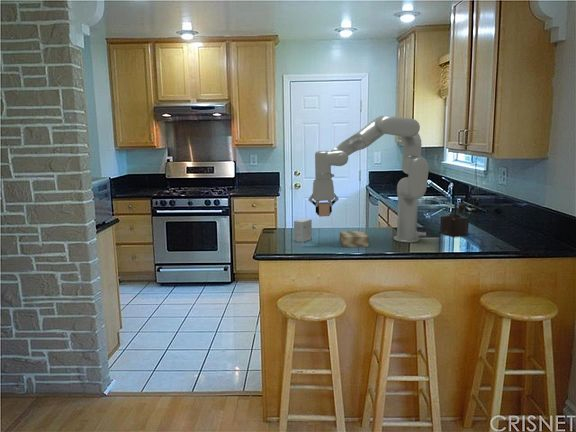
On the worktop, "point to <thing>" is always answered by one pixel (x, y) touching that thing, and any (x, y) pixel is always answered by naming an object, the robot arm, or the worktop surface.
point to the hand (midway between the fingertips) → (323, 213)
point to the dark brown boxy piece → (455, 223)
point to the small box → (302, 230)
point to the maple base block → (354, 239)
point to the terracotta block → (324, 209)
